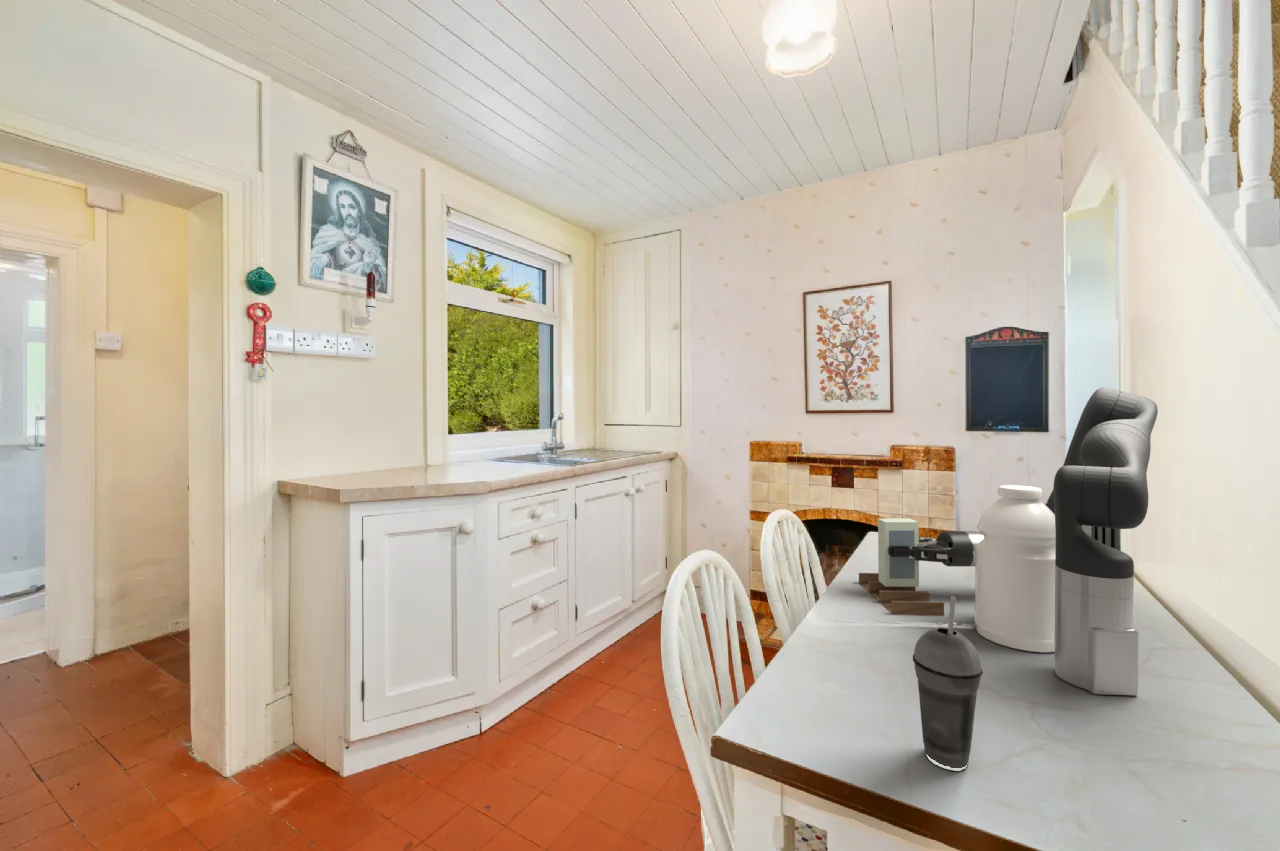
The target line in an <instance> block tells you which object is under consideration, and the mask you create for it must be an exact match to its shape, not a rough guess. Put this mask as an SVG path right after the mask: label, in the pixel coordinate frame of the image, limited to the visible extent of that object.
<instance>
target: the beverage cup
mask: <svg viewBox="0 0 1280 851" xmlns="http://www.w3.org/2000/svg"><path fill="white" fill-rule="evenodd" d="M956 599H957V598H956V596H953V595H951V596H950V603H949V616H948V626H947V627H935V628H932V629H929V630H927V631H925V632H924V633H923V634H922V635H921V636H920V637H919V638H918V640H917V642H916V644H915V647H914V650H913V655H912V661H913V663H914V664H913V665H914V670H915V675H916V678H917V686H918V687H917V688H918V696H919V699H918V700H919V707H920V709H919V710H920V719H921V720H920V721H921V732H922V742H923V744H924V745H923V746H924V747H923V748H924V753H925V752H926V754H927V755H928V756H929V757H930V758H931V759H933V760H935V761H936V762H938V763H939V764H942V765H944V766H949V767H951V768H962V767H965V766H966V765H967V763H968V764H969V761H970V755H971V751H972V750H971V749H972V742H973V741H972V739H973V731H974V723H975V722H974V721H975V713H976V704H977V702H976V701H977V696H978V695H977V694H978V690H979V688H980V683H981V679H982V675H983V673H984V672H983V668H982V663H981V659H980V656H979V654H978V652H977V649H976V647H975V646H974V644H973V643H972V642H971V641H970V640H969V639H968V638H967V637H966V636H965V635H963V634H962V633H960V632H958V631H957V630H955V629H954V623H955V612H956Z"/></svg>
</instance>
